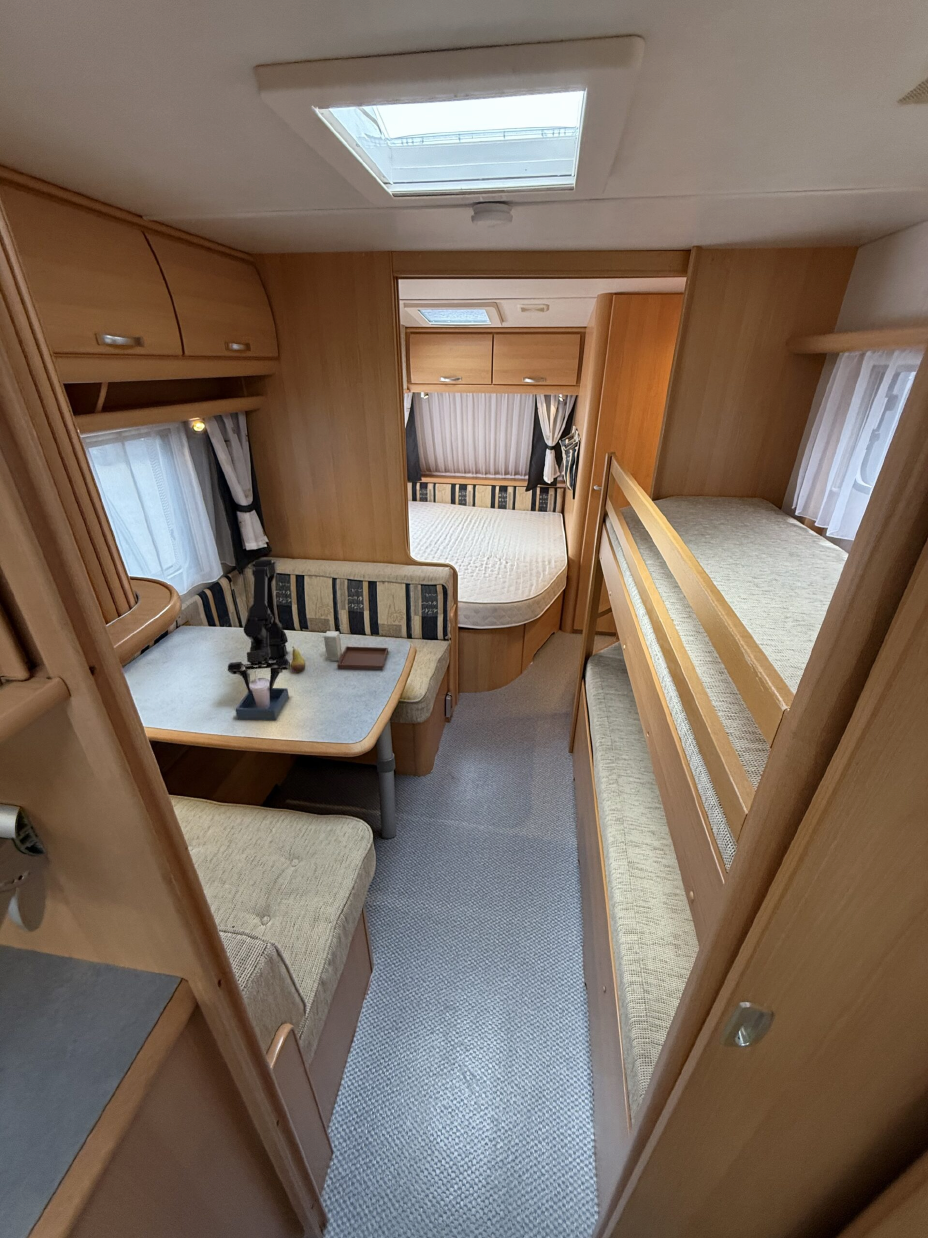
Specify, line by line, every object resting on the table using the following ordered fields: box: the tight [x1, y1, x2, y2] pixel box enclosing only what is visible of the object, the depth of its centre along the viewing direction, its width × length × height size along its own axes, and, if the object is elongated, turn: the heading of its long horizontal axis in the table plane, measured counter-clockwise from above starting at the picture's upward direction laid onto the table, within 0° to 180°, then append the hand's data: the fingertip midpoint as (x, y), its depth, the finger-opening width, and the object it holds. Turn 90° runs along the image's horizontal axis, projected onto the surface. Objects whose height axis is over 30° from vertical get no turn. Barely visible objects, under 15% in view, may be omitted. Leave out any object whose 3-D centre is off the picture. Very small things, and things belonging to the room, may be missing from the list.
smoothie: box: [249, 670, 270, 709], centre depth 162 cm, size 6×6×14 cm
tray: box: [337, 646, 389, 671], centre depth 195 cm, size 17×14×2 cm
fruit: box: [290, 646, 306, 673], centre depth 185 cm, size 6×6×12 cm
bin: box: [234, 687, 290, 721], centre depth 165 cm, size 13×13×4 cm
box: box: [323, 630, 343, 662], centre depth 194 cm, size 5×4×11 cm
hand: (259, 691), depth 161 cm, fingers closed on smoothie, 6 cm apart
